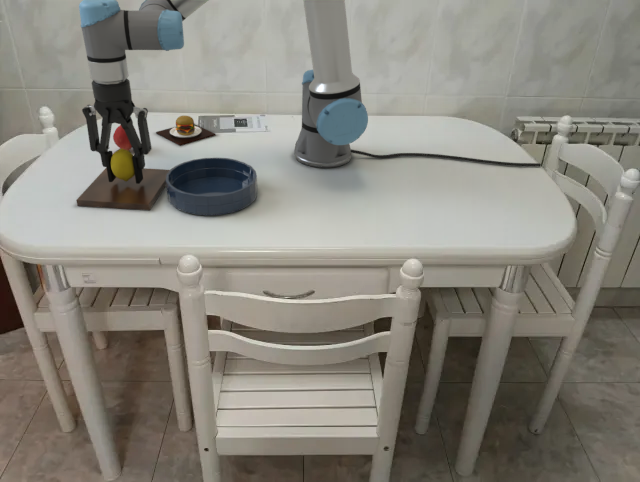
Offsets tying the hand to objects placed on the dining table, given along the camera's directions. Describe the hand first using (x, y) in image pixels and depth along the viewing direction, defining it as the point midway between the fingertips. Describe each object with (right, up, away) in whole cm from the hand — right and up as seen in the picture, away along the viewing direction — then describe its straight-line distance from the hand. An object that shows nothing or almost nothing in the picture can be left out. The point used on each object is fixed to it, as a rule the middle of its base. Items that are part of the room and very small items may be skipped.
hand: (126, 180), depth 128 cm
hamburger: (+6, +16, +32) cm, 36 cm away
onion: (-7, +10, +20) cm, 24 cm away
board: (0, -2, +1) cm, 3 cm away
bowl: (+20, -3, +1) cm, 20 cm away
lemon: (0, 0, 0) cm, 0 cm away
